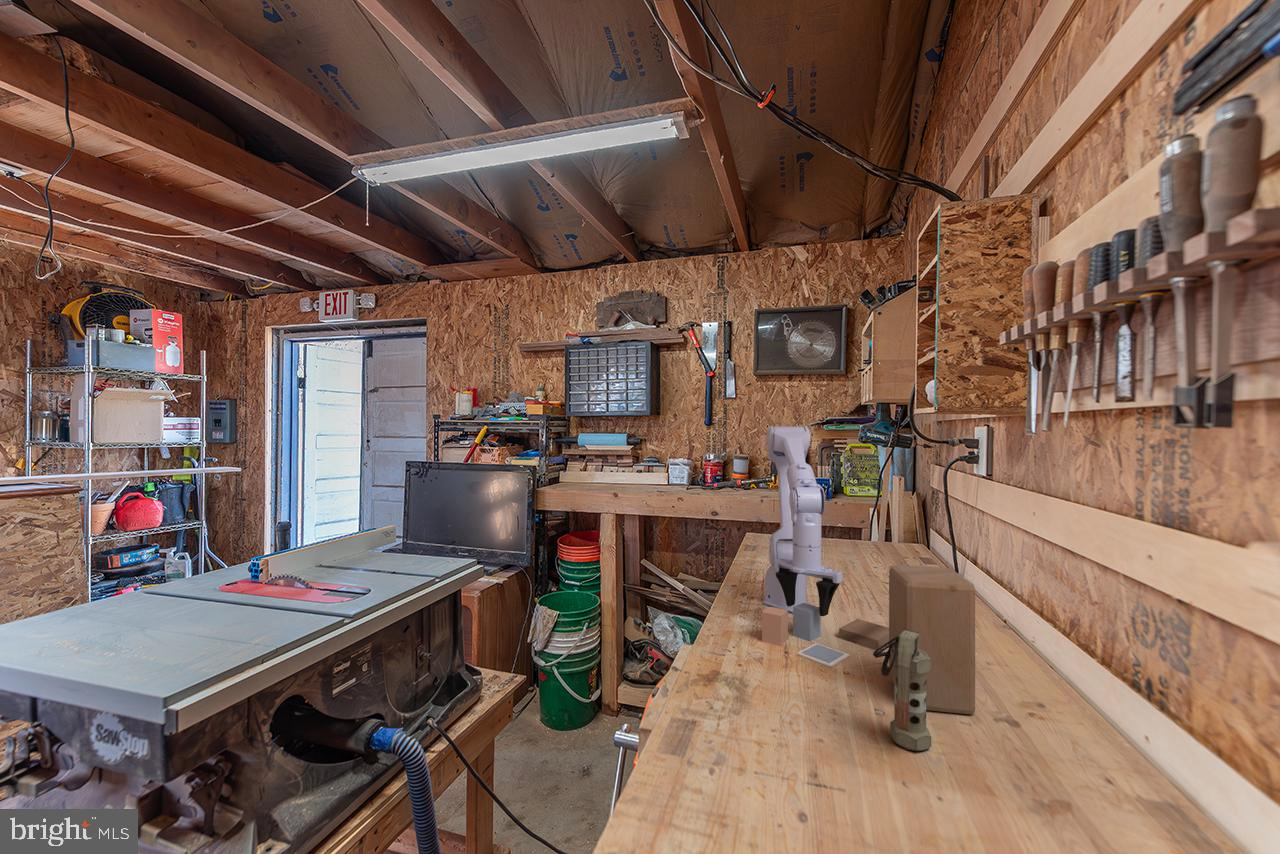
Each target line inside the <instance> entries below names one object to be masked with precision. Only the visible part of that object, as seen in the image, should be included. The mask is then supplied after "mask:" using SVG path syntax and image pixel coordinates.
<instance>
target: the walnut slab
mask: <svg viewBox="0 0 1280 854" xmlns="http://www.w3.org/2000/svg"><path fill="white" fill-rule="evenodd" d="M838 638H839V639H840V640H843V641H846V642H849V643H852V644H855V645H858V646H862V647H865V648H868V649H871V650H874V651H875V650H877V649H878V648H880V647H881V646H883V645H884V644H886V643H887V642H888V641H889V626H888V627H887V626H884V625H881V624H877V623H873V622H870V621H867V620H863V619H859V618H857V619H854V620H852V621H850V622H848V623H847V624H844V625H843V626H840V627H839V628H838ZM888 645H889V644H888ZM888 645H887V646H888ZM885 647H886V646H885ZM885 647H884V648H885Z"/></svg>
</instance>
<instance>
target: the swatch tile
mask: <svg viewBox="0 0 1280 854" xmlns="http://www.w3.org/2000/svg"><path fill="white" fill-rule="evenodd" d="M796 655H797V656H800V657H802V658H805V659H806V660H809V661H813V662H815V663H818V664H820V665H824V666H826V667H829V668H833V667H834V666H836V665H838V664H839V663H841V662H843V661H844V660H846V659H847V658H850V656H851V655H850V654H849V653H846V652H843V651H840V650H838V649H835V648H831V647H828V646H826V645H823V644H820V643H817V642H815V643H813V644H812V645H810V646H807V647H805V648H803V649H802V650H800V651H798V652H796Z"/></svg>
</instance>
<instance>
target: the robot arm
mask: <svg viewBox="0 0 1280 854" xmlns="http://www.w3.org/2000/svg"><path fill="white" fill-rule="evenodd" d="M810 445H811V432H810V429H809V427H808V426H807V425H803V426H773V425H770V426H769V427H768V428H767V430H766V448H767V450H766V451H767V456H768V461H770V462H771V463H774V464H775V468H776V473H777V485H778V487H777V489H778V505H779V506H778V507H779V524H780V525H779V526H780V528H779V529H777V530H775V532H773V533H772V534H771V535H770V536H769V537H770V538H769V547H768V548H769V549H768V557H769V564H770V566H769V567H768V568H767V570H766V571H765V576H764V600H763V601H762V603H763V604H764V605H767V606H769V607H774V608H779V609H784V610H788V613H789V612H790V613H792V614H793V607H794V606H796V605H799V604H801V603H807V604H810V605H813V606H815V604H814V603H812V602H811V603H810V602H807V601H808V600H807V597H808V596H807V592H808V591H807V588H808V587H807V584H808V583H807V581H808V580H807V576H808V577H813V578H817V579H821V580H819V581H816V582H815V585H816V589H817V594H818V604H819V605H818V607H819V613H820V616H821V617H825V616H827V615H829V611H830V606H831V603H832V600H833V598H834V595H835V593H836V591H837V589H838V587H839V586H840V583H842V582H843V572H842V571H839V570H835V569H832V568H829V567H827V566H824V565H822V515H824V514H825V510H826V496H825V490H824V488H823V486H821V484H820V483H819V484H818V483H817V479H816V478H815V473H814V469H813V467H812V466H811V465H810V464H808V463H807V462H806V457H807V455H808V451H809V448H810Z"/></svg>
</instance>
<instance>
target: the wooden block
mask: <svg viewBox="0 0 1280 854" xmlns="http://www.w3.org/2000/svg"><path fill="white" fill-rule="evenodd" d="M888 621H889V622H888V625H889V626H888V628H889V641H890V640H891V639H893V638H895V637H896V636H897V637H898V636H900V635H901V633H902V632H903V631H904V630H906V631H907V630H911V631H915V632H918V633H919V634H920V635H919V637H918V644H917V648H918V649H919V650H922V651H924V652H926V653H927V654H928V655H929V657H930V659H931V670H930V671H929V672H927V673H926V711H934V712H942V713H945V712H946V713H954V714H962V715H972V714H975V711H976V586H975V585H974V583H973V582H971V581H970V580H968V579H967V578H965V577H963V576H962V575H961V574H960V573H958V572H956V571H955V570H953V569H951V568H949V567H944V566H925V565H924V566H922V565H906V564H905V565H904V564H903V565H902V564H893V565H890V567H889V570H888ZM895 641H896V640H894V641H893V642H895ZM891 643H892V642H891ZM891 643H890V644H891ZM893 647H894V645H893V646H892V648H893ZM892 648H891V649H892ZM890 665H891V659H890V658H889V661H888V666H889V667H890ZM888 676H889V679H890V681H891V683H892V685H893V686H894V666H893V667H892V669H891V671H890V673H889V674H888Z"/></svg>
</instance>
